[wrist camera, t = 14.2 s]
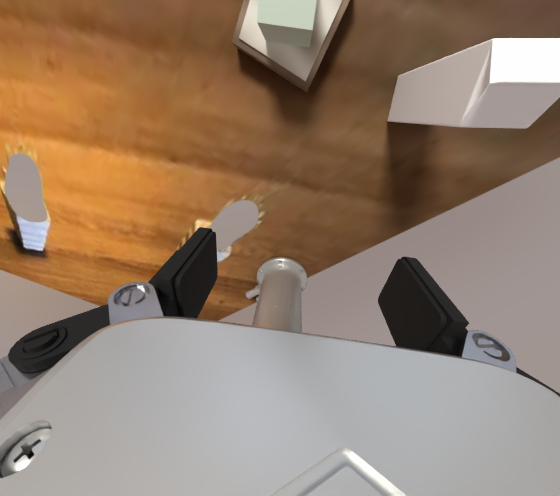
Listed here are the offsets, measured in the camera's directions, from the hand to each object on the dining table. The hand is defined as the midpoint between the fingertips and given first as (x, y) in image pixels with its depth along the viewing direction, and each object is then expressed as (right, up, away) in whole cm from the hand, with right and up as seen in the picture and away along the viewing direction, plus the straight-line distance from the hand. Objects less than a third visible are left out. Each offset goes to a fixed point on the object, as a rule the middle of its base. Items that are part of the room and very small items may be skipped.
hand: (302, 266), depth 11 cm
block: (0, +31, +16) cm, 35 cm away
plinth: (0, +33, +19) cm, 38 cm away
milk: (+19, +24, +23) cm, 39 cm away
